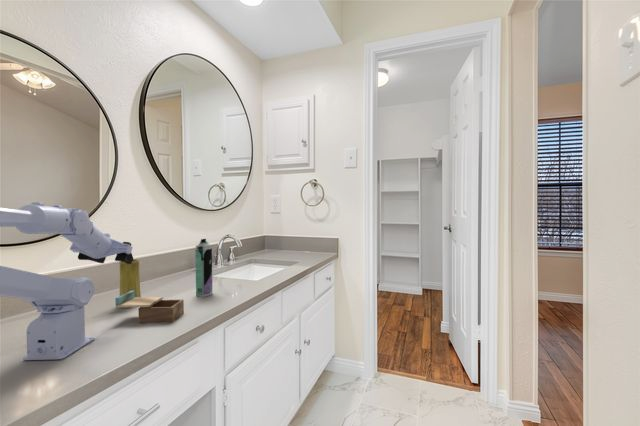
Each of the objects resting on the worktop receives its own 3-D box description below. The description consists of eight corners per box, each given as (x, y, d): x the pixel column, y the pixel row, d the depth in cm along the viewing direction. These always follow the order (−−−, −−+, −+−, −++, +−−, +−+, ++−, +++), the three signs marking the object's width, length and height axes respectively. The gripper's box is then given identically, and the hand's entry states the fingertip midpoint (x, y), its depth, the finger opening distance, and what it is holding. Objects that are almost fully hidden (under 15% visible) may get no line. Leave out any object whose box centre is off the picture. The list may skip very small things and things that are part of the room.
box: (172, 322, 79) (172, 307, 79) (138, 323, 79) (138, 308, 79) (183, 313, 86) (183, 299, 86) (152, 313, 86) (152, 300, 86)
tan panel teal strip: (149, 307, 79) (149, 297, 79) (115, 307, 79) (115, 298, 78) (162, 298, 86) (162, 290, 86) (131, 299, 86) (131, 290, 85)
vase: (130, 308, 90) (129, 262, 90) (113, 307, 92) (112, 262, 91) (145, 302, 96) (145, 259, 96) (130, 301, 97) (129, 258, 97)
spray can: (212, 295, 103) (211, 239, 103) (195, 297, 101) (194, 239, 101) (212, 291, 108) (211, 237, 108) (196, 293, 106) (195, 238, 106)
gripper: (125, 226, 76) (147, 248, 88) (67, 224, 75) (97, 247, 87) (115, 251, 72) (139, 271, 84) (53, 249, 71) (86, 269, 83)
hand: (117, 260), depth 85 cm, fingers open, 7 cm apart
